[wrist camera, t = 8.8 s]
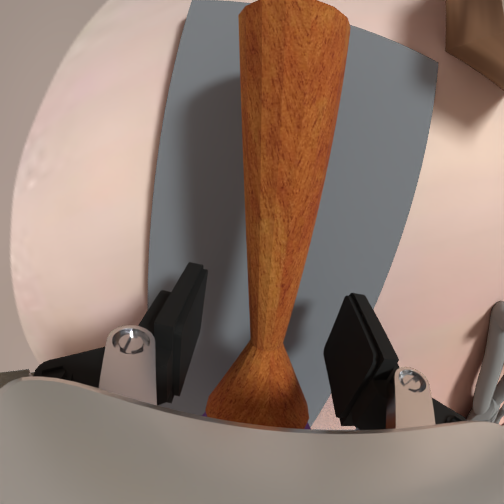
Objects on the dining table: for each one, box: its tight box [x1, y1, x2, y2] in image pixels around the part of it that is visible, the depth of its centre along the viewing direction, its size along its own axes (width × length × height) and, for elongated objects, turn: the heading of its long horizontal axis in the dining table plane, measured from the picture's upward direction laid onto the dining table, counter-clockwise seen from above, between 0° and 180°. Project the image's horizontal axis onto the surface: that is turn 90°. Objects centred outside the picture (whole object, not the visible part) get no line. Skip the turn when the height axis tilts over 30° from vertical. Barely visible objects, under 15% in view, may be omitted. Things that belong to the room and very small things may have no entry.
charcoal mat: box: [148, 0, 438, 427], centre depth 13 cm, size 24×11×1 cm, turn 169°
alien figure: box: [466, 301, 504, 424], centre depth 17 cm, size 8×5×25 cm
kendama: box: [202, 0, 351, 429], centre depth 9 cm, size 6×6×20 cm
